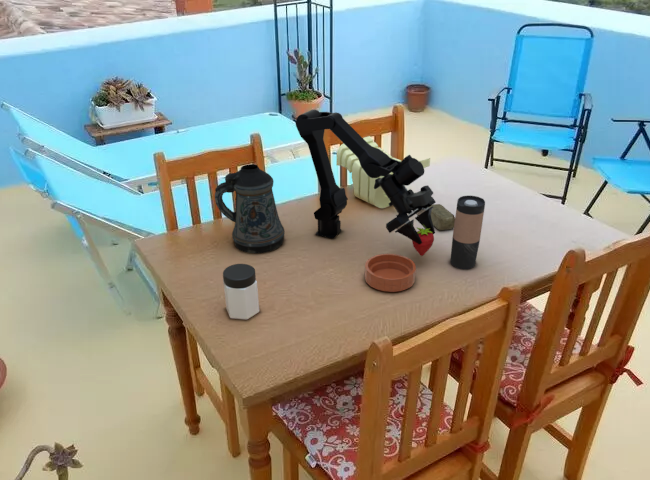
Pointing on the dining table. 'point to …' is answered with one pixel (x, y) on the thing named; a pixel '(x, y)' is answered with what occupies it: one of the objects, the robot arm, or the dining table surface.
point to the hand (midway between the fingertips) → (427, 238)
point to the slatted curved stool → (365, 175)
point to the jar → (241, 291)
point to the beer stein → (252, 210)
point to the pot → (390, 272)
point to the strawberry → (424, 241)
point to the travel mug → (467, 231)
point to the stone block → (442, 217)
